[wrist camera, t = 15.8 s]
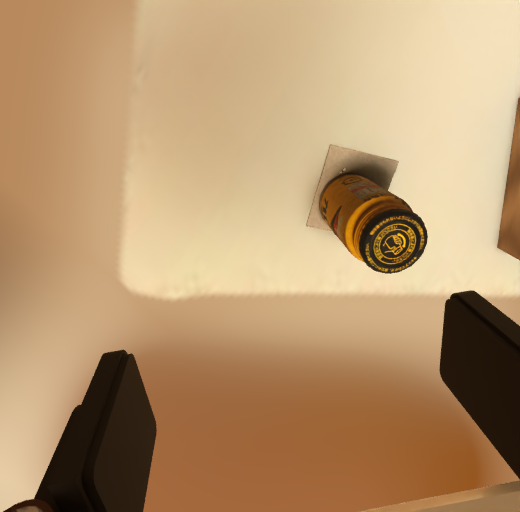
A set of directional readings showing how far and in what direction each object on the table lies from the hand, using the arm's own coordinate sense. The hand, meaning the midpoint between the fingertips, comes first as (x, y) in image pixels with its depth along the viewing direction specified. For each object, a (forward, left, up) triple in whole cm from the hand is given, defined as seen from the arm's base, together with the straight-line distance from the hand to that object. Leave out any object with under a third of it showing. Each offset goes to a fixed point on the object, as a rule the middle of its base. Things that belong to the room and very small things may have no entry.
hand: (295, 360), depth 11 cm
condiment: (+4, +11, -29) cm, 31 cm away
